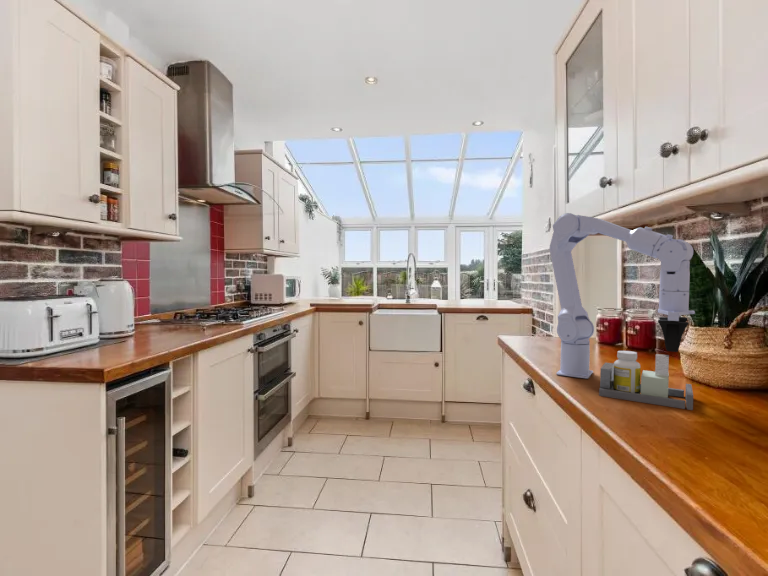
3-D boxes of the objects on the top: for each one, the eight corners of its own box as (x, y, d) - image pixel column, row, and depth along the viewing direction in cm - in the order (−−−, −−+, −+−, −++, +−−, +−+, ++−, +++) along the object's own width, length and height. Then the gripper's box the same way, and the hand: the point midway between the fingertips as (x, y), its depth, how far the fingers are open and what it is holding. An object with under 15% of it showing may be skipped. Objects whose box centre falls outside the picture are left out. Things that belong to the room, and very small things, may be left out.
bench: (605, 385, 105) (605, 361, 104) (690, 397, 95) (691, 371, 95) (598, 395, 96) (599, 369, 95) (692, 410, 86) (693, 381, 86)
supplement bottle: (632, 391, 100) (634, 350, 99) (644, 397, 94) (645, 354, 94) (609, 390, 100) (610, 349, 100) (619, 396, 95) (620, 354, 95)
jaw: (642, 391, 98) (643, 351, 98) (668, 394, 96) (669, 353, 95) (640, 398, 93) (641, 355, 92) (667, 402, 90) (669, 358, 90)
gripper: (696, 292, 89) (694, 355, 90) (694, 290, 101) (692, 346, 102) (657, 291, 93) (655, 352, 94) (659, 289, 105) (657, 343, 106)
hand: (672, 349), depth 98 cm, fingers open, 7 cm apart
